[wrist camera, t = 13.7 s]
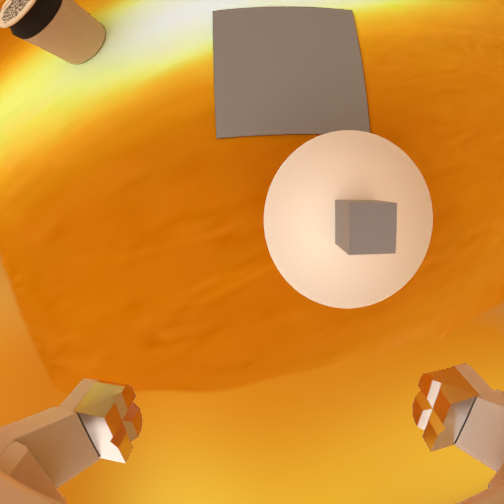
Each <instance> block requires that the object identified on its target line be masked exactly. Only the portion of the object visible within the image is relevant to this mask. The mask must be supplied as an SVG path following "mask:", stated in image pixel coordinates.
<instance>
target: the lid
mask: <svg viewBox="0 0 504 504" xmlns="http://www.w3.org/2000/svg"><path fill="white" fill-rule="evenodd" d="M432 226H433V210H432V203H431V198H430V194H429V190H428V187H427V185H426V182H425V180H424V178H423V176H422V174H421V172H420V171H419V169H418V167H417V166H416V165H415V163H414V162H413V161H412V159H411V158H410V157H409V156H408V155H407V154H406V153H405V152H404V151H403V150H401V149H400V148H399V147H398V146H396V145H395V144H393V143H392V142H390V141H388V140H387V139H385V138H383V137H380V136H378V135H375V134H372V133H368V132H364V131H357V130H340V131H334V132H329V133H326V134H323V135H320V136H317V137H315V138H313V139H311V140H309V141H307V142H306V143H304V144H303V145H301V146H300V147H298V148H297V149H296V150H295V151H294V152H293V153H292V154H291V155H290V156H289V157H288V158H287V159H286V160H285V161H284V163H283V164H282V165H281V167H280V168H279V170H278V171H277V173H276V175H275V176H274V178H273V181H272V183H271V185H270V187H269V191H268V194H267V197H266V202H265V209H264V231H265V238H266V242H267V247H268V250H269V252H270V255H271V257H272V260H273V262H274V263H275V265H276V267H277V269H278V270H279V272H280V273H281V275H282V276H283V277H284V279H285V280H286V281H287V282H288V283H289V284H290V285H291V286H292V287H293V288H294V289H296V290H297V291H298V292H299V293H301V294H302V295H304V296H305V297H307V298H309V299H310V300H313V301H315V302H317V303H320V304H323V305H326V306H330V307H336V308H359V307H365V306H368V305H372V304H375V303H377V302H380V301H382V300H384V299H386V298H388V297H390V296H391V295H393V294H394V293H396V292H397V291H398V290H400V289H401V288H402V287H403V286H404V285H405V284H406V283H407V282H408V281H409V280H410V279H411V278H412V276H413V275H414V274H415V273H416V271H417V270H418V268H419V266H420V265H421V263H422V261H423V259H424V257H425V255H426V252H427V249H428V247H429V244H430V239H431V234H432Z"/></svg>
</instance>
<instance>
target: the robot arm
mask: <svg viewBox="0 0 504 504" xmlns="http://www.w3.org/2000/svg"><path fill="white" fill-rule="evenodd" d="M418 386H419V388H420V389H421V391H420V392H419V393H418V395H417V396H416V397H415V399H414V403H413V417H414V421H415V423H416V425H417V427H419V428H421V429H423V430H424V434H423V438H424V440H425V442H426V444H427V446H428V447H429V449H430V451H434V450H438V449H441V448H444V447H448V446H451V445H454V444H455V446H456V447H458V448H459V449H461V450H463V451H464V452H466V453H467V454H469V455H471V456H472V457H474V458H475V459H477V460H479V461H480V462H482V463H484V464H485V465H487V466H488V467H490V468H492V469H493V470H495V471H496V472H497V473H496V474H495V476H494V477H493V478H492V480H491V481H490V483H489V485H488V488H489V489H487V490H485V491H483V492H481V493H479V494H477V495H475V496H472V497H470V498H468V499H466V500H464V501H461V502H459V503H457V504H504V392H503V391H500V390H494V391H493V389H491V387H489V385H488V384H487V383H486V382H485V381H484V380H483V379H482V378H481V377H480V376H479V375H478V374H477V373H476V372H475V371H474V370H473V369H472V368H471V366H470V365H468V364H466V363H464V364H460V365H456V366H453V367H451V368H447V369H443V370H439V371H434V372H430V373H425V374H423V375H422V377H421V378H420V381H419V385H418ZM134 398H135V393H134V391H133V388H132V387H131V386H129V385H126V384H119V383H113V382H107V381H102V380H100V381H99V380H95V379H89V378H85V379H82V381H81V382H80V383H79V384H78V385H77V386H76V388H75V389H74V390H73V391H72V392H71V393H70V394H69V396H68V397H67V398H66V399H65V400H64V402H63V403H62V404H61V405H60V406H59V407H52V408H50V409H47V410H45V411H42V412H40V413H37V414H35V415H32V416H30V417H27V418H24V419H22V420H19V421H16V422H14V423H11V424H8V425H5V426H3V427H0V504H66V503H67V502H66V499H65V497H64V496H63V495H62V494H61V493H60V492H59V490H58V489H57V487H59V486H61V485H62V484H64V483H65V482H67V481H68V480H70V479H71V478H73V477H74V476H76V475H77V474H79V473H80V472H82V471H83V470H85V469H86V468H88V467H89V466H91V465H92V464H94V463H95V462H96V461H98V460H99V459H100V458H104V459H108V460H113V461H117V462H122V463H126V461H127V459H128V457H129V455H130V453H131V451H132V449H133V446H132V444H131V441H132V440H134V439H136V438H137V437H138V436H139V433H140V432H141V427H142V415H141V412H140V408H139V407H138V406H137V405H136V404H135V403H134V402H133V400H134Z"/></svg>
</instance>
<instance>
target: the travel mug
mask: <svg viewBox="0 0 504 504" xmlns="http://www.w3.org/2000/svg"><path fill="white" fill-rule="evenodd" d="M0 27H2V28H7V27H9V28H10V29H11V31H12V34H13V35H15V36H17V37H19V38H21V39H23V40H25V41H27V42H30V43H32V44H34V45H36V46H38V47H40V48H42V49H44V50H46V51H48V52H50V53H52V54H54V55H56V56H58V57H60V58H62V59H64V60H66V61H67V62H69V63H71V64H80V63H83V62H85V61H87V60H89V59H90V58H91V57H93V56H94V55H95V54H96V53H97V52H98V50H99V49H100V47H101V46H102V44H103V42H104V39H105V28H104V26H103V25H102V24H101V23H99V22H98V21H97V20H96V19H95V18H93V17H92V16H91V15H90V14H89V13H88V12H86V11H85V10H84V9H83V8H81V7H80V6H79V5H78V4H77V3H75V2H74V1H73V0H6V2H5V3H4V5H3V7H2V9H1V11H0Z"/></svg>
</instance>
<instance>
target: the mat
mask: <svg viewBox="0 0 504 504" xmlns="http://www.w3.org/2000/svg"><path fill="white" fill-rule="evenodd" d="M213 53H214V87H215V114H216V136H217V138H229V137H243V136H261V135H289V134H326V133H329V132H334V131H340V130H357V131H364V132H368V133H370V125H369V115H368V105H367V96H366V88H365V80H364V73H363V66H362V60H361V54H360V48H359V42H358V37H357V32H356V27H355V22H354V17H353V12H352V10H343V9H332V8H317V7H253V8H238V9H227V10H218V11H213Z"/></svg>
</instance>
